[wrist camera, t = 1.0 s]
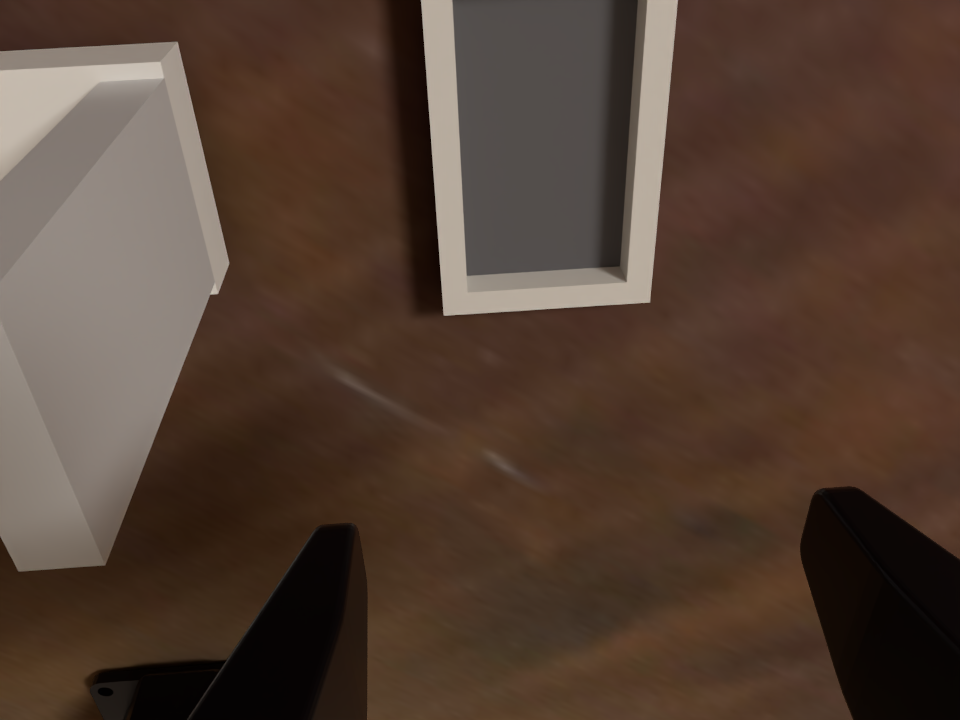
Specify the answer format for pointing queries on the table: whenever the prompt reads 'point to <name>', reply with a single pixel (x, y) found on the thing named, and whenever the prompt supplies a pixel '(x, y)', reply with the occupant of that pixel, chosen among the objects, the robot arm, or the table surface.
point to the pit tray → (547, 148)
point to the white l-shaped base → (94, 284)
